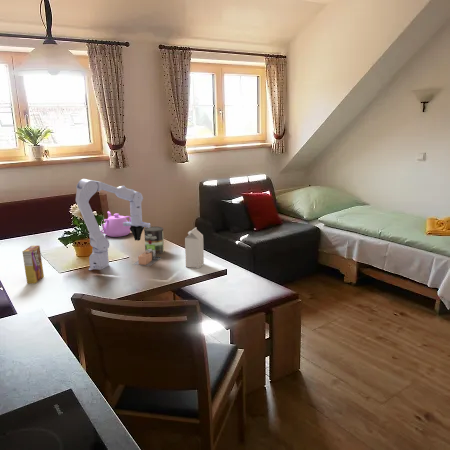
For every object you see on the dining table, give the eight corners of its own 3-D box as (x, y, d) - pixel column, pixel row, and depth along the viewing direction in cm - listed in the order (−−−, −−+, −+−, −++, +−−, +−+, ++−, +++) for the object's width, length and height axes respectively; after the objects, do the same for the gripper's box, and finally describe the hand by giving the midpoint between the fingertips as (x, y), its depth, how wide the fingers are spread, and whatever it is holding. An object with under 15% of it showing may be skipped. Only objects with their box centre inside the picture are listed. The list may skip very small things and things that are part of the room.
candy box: (34, 276, 196) (31, 245, 192) (44, 276, 196) (40, 245, 192) (26, 283, 187) (22, 250, 184) (35, 283, 187) (31, 250, 184)
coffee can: (159, 257, 224) (158, 231, 221) (141, 255, 227) (140, 230, 224) (167, 251, 234) (166, 227, 230) (150, 250, 237) (149, 225, 233)
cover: (146, 264, 209) (145, 257, 208) (138, 264, 210) (138, 256, 209) (151, 260, 215) (151, 253, 214) (144, 259, 216) (144, 252, 215)
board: (149, 268, 207) (149, 265, 206) (132, 266, 209) (132, 263, 209) (162, 258, 221) (161, 256, 221) (145, 257, 223) (145, 254, 223)
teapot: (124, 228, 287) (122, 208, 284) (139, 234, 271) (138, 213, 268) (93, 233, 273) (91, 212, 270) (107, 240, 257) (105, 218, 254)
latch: (150, 261, 214) (150, 251, 213) (143, 260, 215) (143, 250, 214) (155, 257, 220) (155, 248, 218) (148, 257, 221) (148, 247, 219)
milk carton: (203, 264, 213) (203, 227, 208) (199, 268, 206) (198, 230, 201) (190, 262, 214) (189, 226, 210) (185, 267, 208) (184, 230, 203)
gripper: (152, 213, 217) (153, 239, 220) (127, 212, 221) (128, 237, 224) (146, 216, 210) (147, 242, 213) (120, 215, 214) (122, 240, 217)
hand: (137, 240), depth 218 cm, fingers closed
